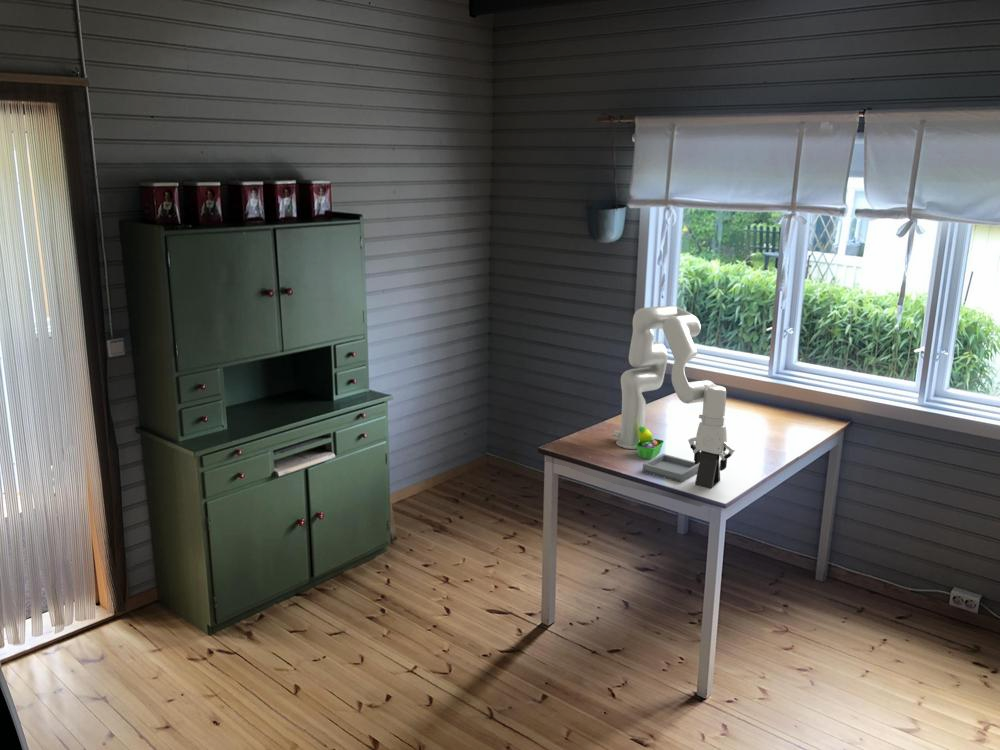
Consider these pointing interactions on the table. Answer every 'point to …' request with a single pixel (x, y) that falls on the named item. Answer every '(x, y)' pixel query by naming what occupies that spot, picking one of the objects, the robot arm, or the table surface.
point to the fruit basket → (648, 444)
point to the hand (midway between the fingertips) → (709, 466)
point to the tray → (671, 467)
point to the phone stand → (708, 470)
